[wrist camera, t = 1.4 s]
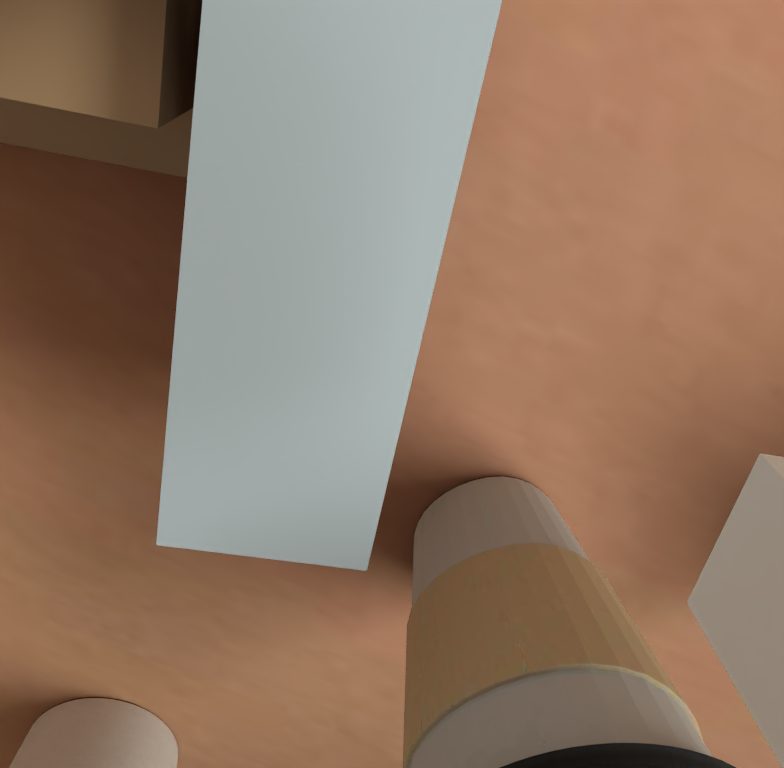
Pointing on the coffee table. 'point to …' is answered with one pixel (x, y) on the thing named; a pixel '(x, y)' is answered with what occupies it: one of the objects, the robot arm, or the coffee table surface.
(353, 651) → the coffee table surface
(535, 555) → the coffee cup
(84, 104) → the fulcrum
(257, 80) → the beam
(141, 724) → the coffee cup
